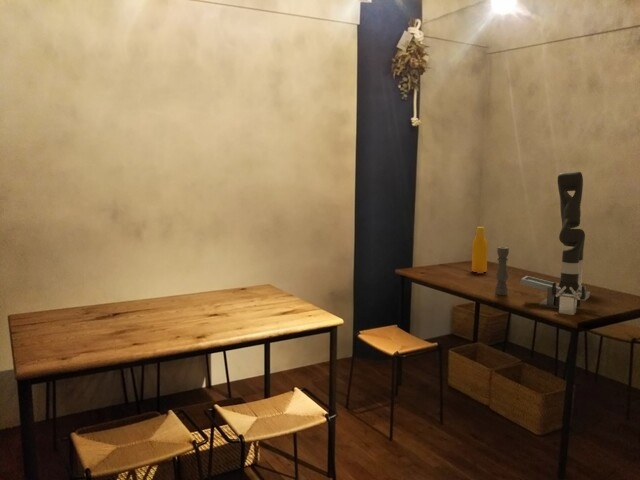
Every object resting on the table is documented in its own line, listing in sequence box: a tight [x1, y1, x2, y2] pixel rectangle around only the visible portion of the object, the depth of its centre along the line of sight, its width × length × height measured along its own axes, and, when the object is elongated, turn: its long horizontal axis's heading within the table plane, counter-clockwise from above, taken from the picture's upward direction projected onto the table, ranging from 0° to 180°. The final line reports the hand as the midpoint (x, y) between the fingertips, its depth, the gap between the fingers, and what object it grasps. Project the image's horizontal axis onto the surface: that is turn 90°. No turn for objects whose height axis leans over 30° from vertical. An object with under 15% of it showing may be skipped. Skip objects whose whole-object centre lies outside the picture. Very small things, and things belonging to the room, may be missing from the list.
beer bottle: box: [471, 226, 488, 273], centre depth 336 cm, size 9×9×29 cm
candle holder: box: [494, 246, 510, 296], centre depth 280 cm, size 6×6×25 cm
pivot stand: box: [538, 288, 561, 310], centre depth 259 cm, size 12×10×9 cm
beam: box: [519, 275, 591, 302], centre depth 258 cm, size 9×30×3 cm, turn 52°
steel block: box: [558, 294, 577, 316], centre depth 246 cm, size 6×6×8 cm
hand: (567, 305), depth 246 cm, fingers open, 8 cm apart
